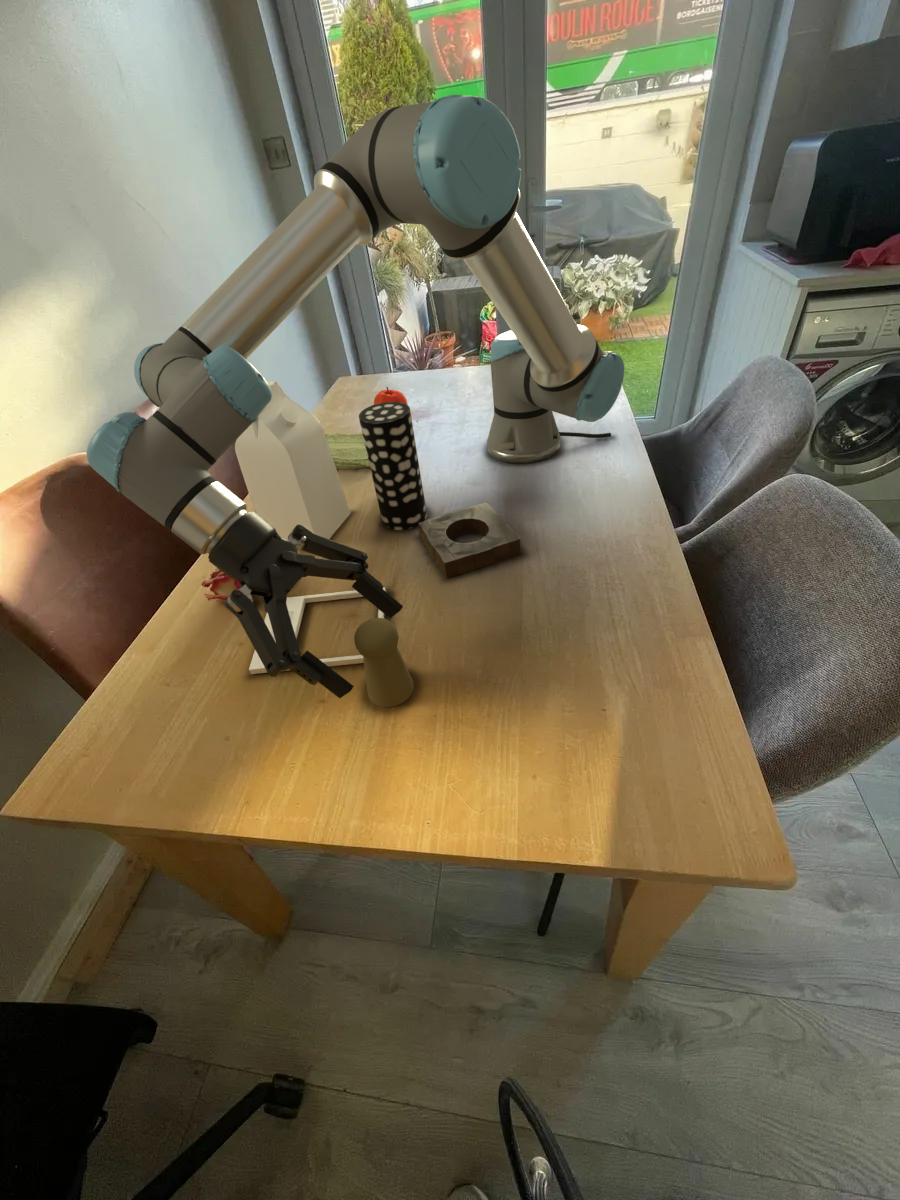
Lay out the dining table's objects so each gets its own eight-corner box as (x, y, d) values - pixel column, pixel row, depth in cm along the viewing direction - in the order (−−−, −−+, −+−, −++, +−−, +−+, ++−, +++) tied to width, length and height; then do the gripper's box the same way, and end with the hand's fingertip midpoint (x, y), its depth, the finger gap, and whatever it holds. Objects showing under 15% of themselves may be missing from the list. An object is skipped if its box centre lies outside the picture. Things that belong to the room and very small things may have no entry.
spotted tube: (420, 530, 98) (402, 423, 84) (376, 529, 99) (351, 423, 86) (431, 505, 104) (415, 401, 90) (389, 504, 105) (367, 402, 92)
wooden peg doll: (368, 674, 73) (349, 613, 66) (413, 667, 73) (398, 606, 66) (366, 710, 69) (346, 650, 62) (414, 703, 69) (399, 642, 62)
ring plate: (488, 515, 99) (487, 500, 97) (522, 554, 89) (521, 539, 87) (419, 536, 96) (416, 522, 94) (446, 579, 87) (443, 564, 85)
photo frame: (270, 598, 86) (384, 586, 85) (273, 603, 87) (386, 591, 86) (248, 668, 75) (378, 655, 74) (251, 674, 76) (380, 661, 75)
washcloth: (374, 471, 116) (371, 457, 114) (298, 470, 120) (294, 457, 118) (391, 442, 126) (389, 429, 124) (321, 443, 130) (317, 430, 128)
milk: (299, 507, 108) (254, 373, 91) (350, 513, 105) (313, 374, 88) (265, 543, 100) (208, 403, 83) (319, 550, 96) (271, 405, 79)
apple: (370, 424, 135) (363, 391, 130) (389, 411, 140) (384, 379, 135) (396, 428, 131) (390, 395, 126) (415, 415, 136) (410, 382, 131)
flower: (286, 582, 88) (255, 540, 86) (244, 610, 80) (210, 565, 79) (254, 602, 93) (226, 563, 92) (213, 630, 86) (181, 588, 85)
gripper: (278, 494, 73) (399, 596, 78) (140, 620, 56) (307, 741, 61) (300, 460, 68) (429, 572, 72) (156, 588, 51) (337, 723, 55)
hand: (373, 649), depth 67 cm, fingers open, 13 cm apart
